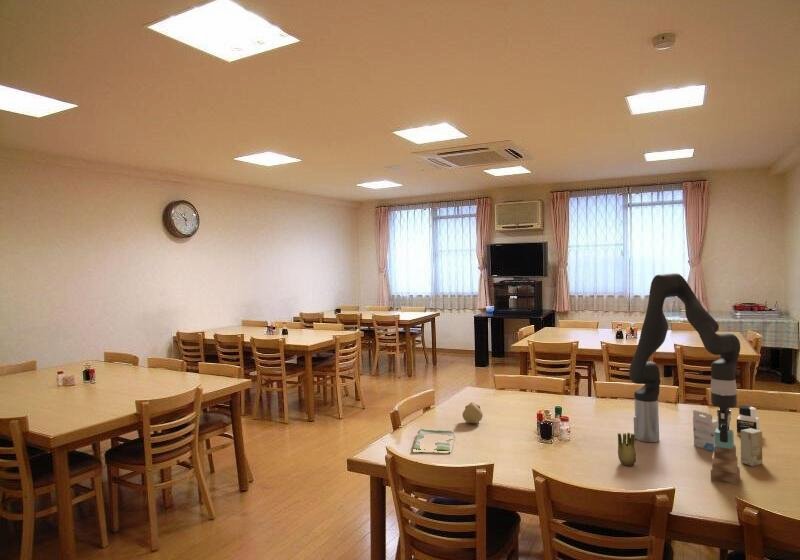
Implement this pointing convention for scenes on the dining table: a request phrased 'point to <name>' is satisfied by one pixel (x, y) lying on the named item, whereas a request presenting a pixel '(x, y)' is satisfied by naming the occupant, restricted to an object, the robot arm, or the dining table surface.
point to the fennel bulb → (626, 449)
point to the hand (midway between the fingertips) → (724, 438)
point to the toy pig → (472, 413)
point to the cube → (723, 444)
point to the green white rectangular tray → (439, 445)
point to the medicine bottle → (747, 419)
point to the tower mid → (725, 465)
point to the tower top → (725, 453)
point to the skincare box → (751, 446)
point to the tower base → (726, 477)
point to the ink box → (704, 430)
